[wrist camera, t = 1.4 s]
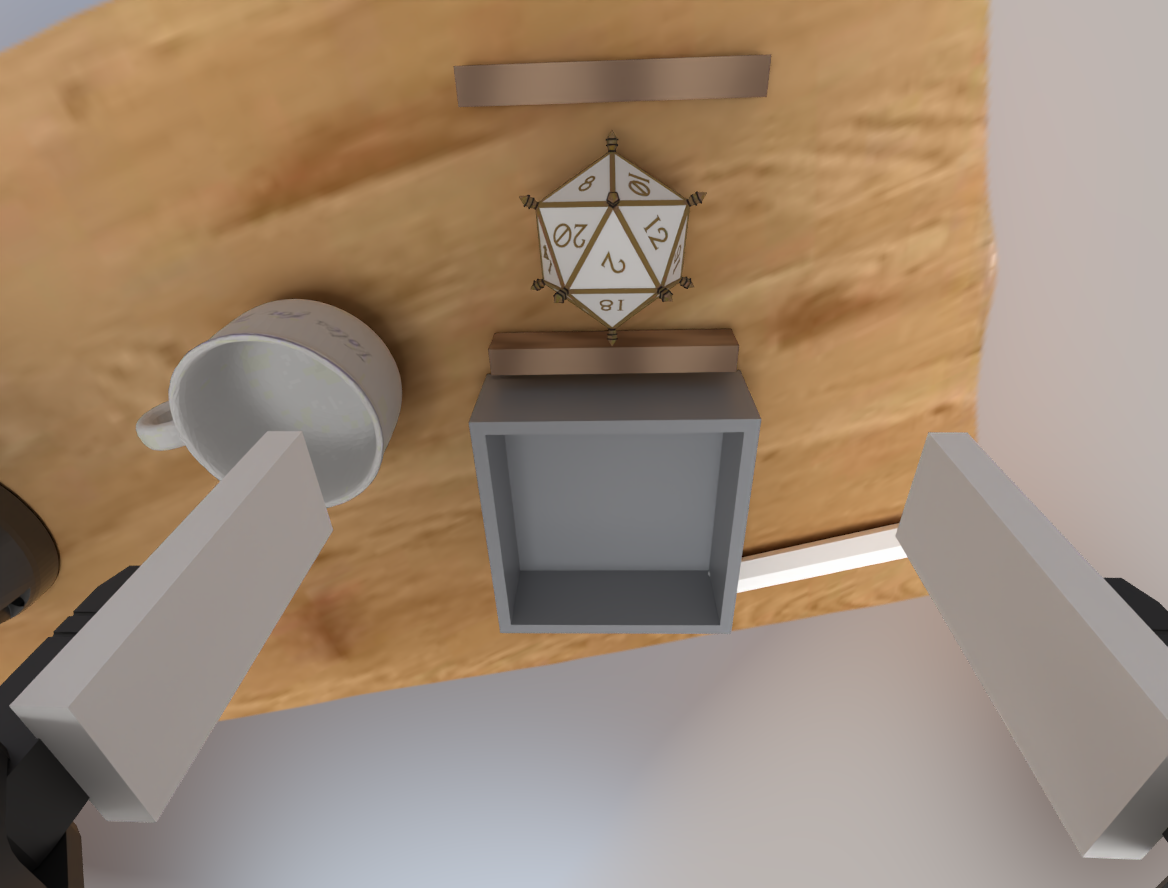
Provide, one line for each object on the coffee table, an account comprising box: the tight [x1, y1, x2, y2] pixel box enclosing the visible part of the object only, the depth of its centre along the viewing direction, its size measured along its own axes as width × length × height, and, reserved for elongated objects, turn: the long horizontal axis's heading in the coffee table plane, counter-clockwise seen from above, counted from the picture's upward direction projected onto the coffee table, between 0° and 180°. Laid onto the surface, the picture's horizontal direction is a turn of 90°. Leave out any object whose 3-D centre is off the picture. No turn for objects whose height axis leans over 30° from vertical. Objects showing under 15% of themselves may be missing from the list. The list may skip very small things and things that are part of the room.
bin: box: [469, 370, 761, 634], centre depth 40 cm, size 16×17×6 cm
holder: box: [454, 55, 771, 375], centre depth 32 cm, size 14×15×2 cm
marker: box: [708, 523, 907, 593], centre depth 44 cm, size 3×2×16 cm
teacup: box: [136, 299, 402, 508], centre depth 35 cm, size 14×11×8 cm
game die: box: [519, 130, 707, 346], centre depth 30 cm, size 9×8×10 cm
